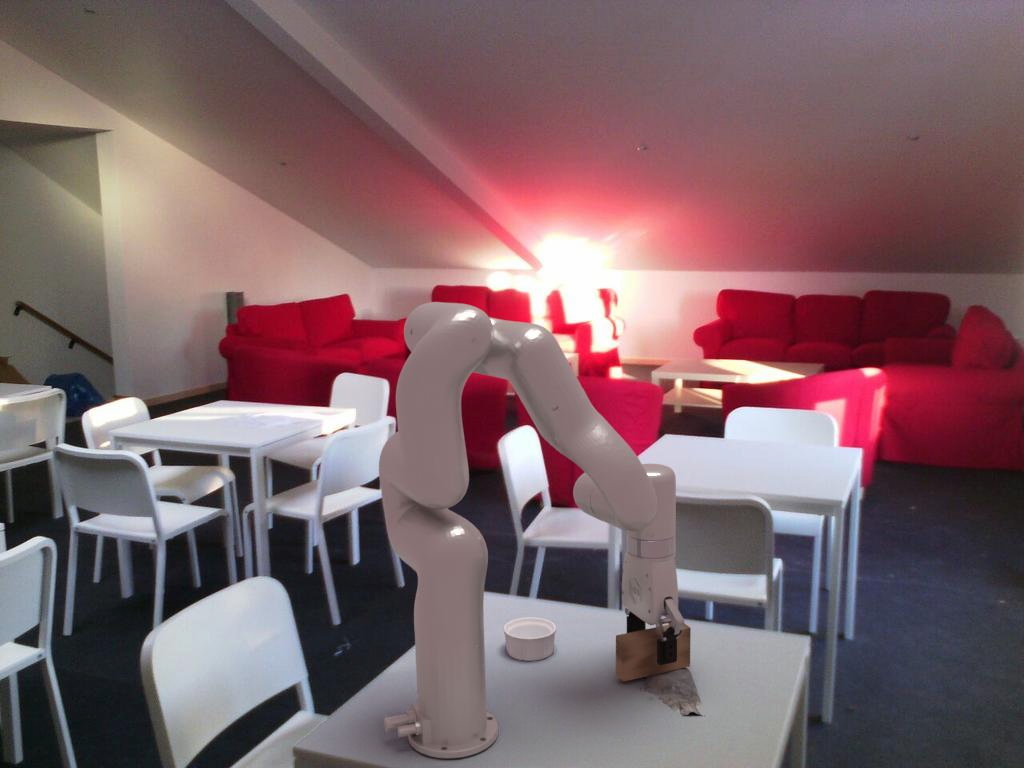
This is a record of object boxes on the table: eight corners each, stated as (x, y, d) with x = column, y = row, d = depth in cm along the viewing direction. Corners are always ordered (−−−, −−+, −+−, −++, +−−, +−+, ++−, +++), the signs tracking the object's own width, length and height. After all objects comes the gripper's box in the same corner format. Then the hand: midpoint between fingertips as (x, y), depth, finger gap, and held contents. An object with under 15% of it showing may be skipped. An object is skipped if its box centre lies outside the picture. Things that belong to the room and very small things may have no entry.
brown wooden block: (623, 681, 135) (623, 641, 134) (615, 673, 138) (615, 634, 137) (690, 666, 140) (690, 627, 139) (681, 659, 142) (681, 621, 141)
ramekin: (500, 643, 152) (499, 619, 151) (550, 638, 154) (549, 614, 153) (509, 666, 143) (508, 641, 143) (562, 660, 145) (561, 635, 144)
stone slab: (622, 656, 144) (682, 651, 144) (622, 666, 144) (683, 661, 144) (639, 716, 126) (708, 710, 126) (640, 728, 126) (709, 722, 126)
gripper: (603, 532, 142) (604, 633, 145) (659, 566, 126) (659, 679, 129) (643, 526, 145) (644, 625, 147) (703, 558, 129) (702, 669, 131)
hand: (651, 650), depth 138 cm, fingers open, 9 cm apart
